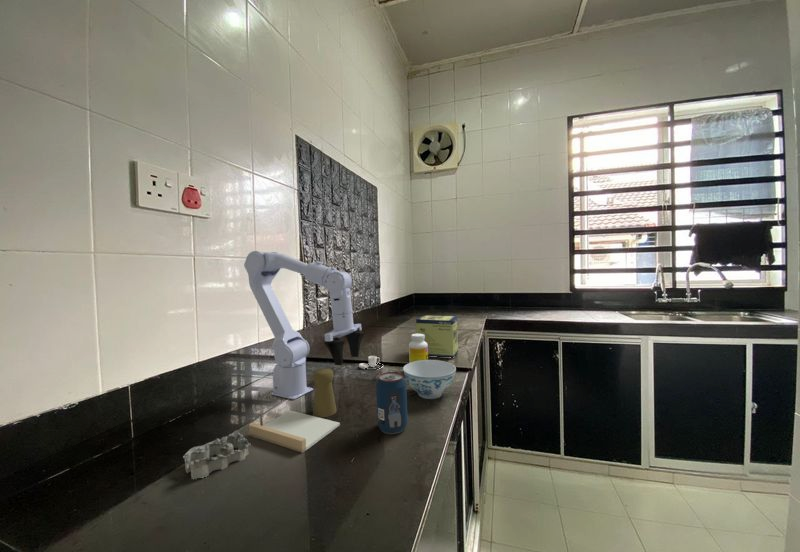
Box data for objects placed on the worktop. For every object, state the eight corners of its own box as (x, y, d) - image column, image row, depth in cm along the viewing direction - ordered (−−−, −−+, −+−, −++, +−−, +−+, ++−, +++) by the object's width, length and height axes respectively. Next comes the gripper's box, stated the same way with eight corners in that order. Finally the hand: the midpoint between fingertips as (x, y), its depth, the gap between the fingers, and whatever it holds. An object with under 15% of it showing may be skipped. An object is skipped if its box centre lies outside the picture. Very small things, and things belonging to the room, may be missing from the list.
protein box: (454, 359, 122) (452, 320, 122) (416, 356, 128) (415, 319, 127) (458, 352, 132) (457, 315, 132) (423, 350, 137) (422, 315, 137)
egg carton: (192, 485, 54) (190, 463, 54) (182, 468, 60) (181, 447, 59) (253, 458, 62) (252, 438, 62) (239, 444, 67) (238, 426, 67)
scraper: (249, 435, 70) (248, 425, 70) (290, 412, 81) (290, 403, 81) (302, 452, 63) (302, 441, 63) (339, 425, 73) (339, 415, 73)
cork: (330, 418, 77) (329, 374, 77) (308, 416, 78) (306, 373, 78) (340, 407, 83) (338, 366, 83) (319, 406, 84) (317, 365, 84)
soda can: (393, 417, 76) (391, 369, 76) (413, 427, 71) (412, 375, 71) (371, 428, 71) (369, 376, 71) (391, 439, 67) (390, 384, 66)
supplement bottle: (429, 374, 106) (428, 336, 106) (409, 374, 107) (408, 337, 106) (427, 367, 113) (426, 332, 113) (409, 368, 113) (408, 333, 113)
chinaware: (431, 411, 79) (430, 381, 79) (393, 394, 90) (392, 368, 90) (467, 393, 89) (466, 367, 89) (429, 380, 100) (428, 357, 100)
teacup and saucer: (357, 370, 113) (356, 359, 113) (363, 364, 121) (363, 353, 121) (380, 371, 112) (380, 360, 112) (385, 364, 120) (385, 354, 120)
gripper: (337, 317, 81) (342, 369, 81) (367, 309, 93) (372, 353, 94) (316, 317, 84) (321, 368, 84) (348, 309, 97) (353, 353, 97)
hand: (347, 360), depth 89 cm, fingers open, 7 cm apart
